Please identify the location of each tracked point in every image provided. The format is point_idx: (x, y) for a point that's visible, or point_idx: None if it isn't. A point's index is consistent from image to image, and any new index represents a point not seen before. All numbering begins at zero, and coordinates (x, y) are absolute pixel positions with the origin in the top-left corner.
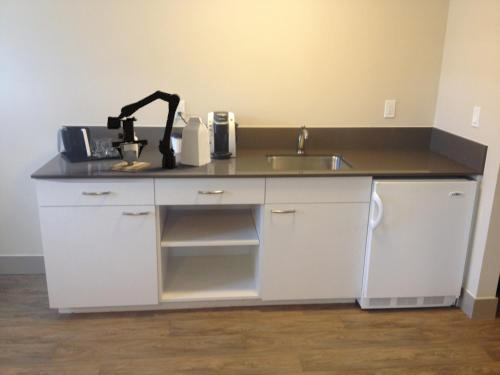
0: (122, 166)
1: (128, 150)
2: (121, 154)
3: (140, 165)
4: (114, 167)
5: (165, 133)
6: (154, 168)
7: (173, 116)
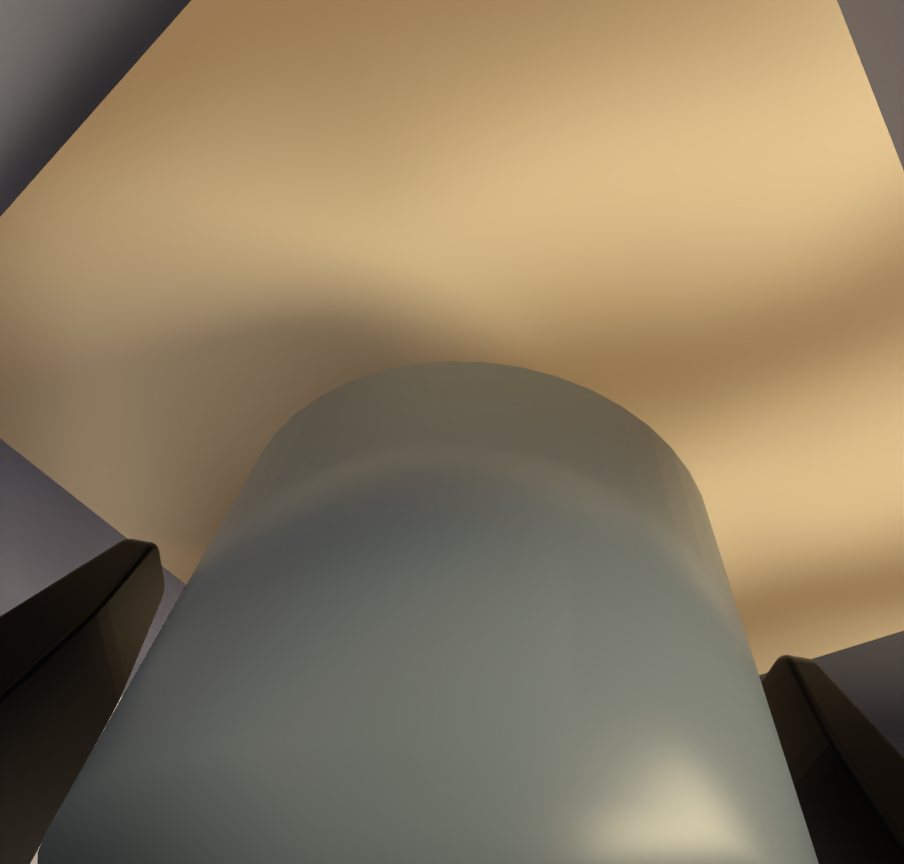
0: (234, 491)
1: (442, 854)
2: (23, 838)
3: None
4: (30, 456)
5: None
6: (867, 705)
7: None
